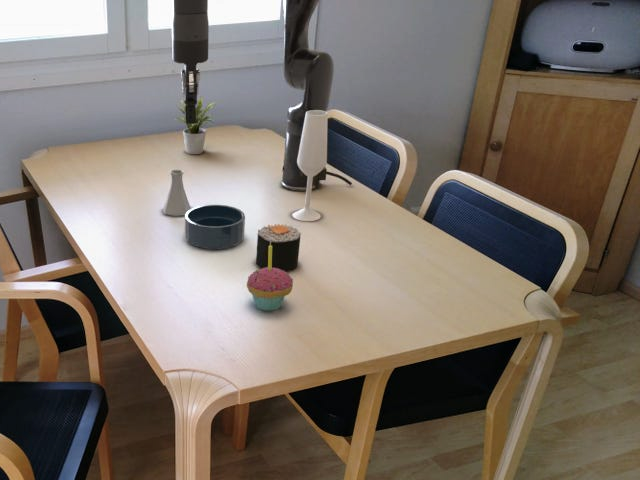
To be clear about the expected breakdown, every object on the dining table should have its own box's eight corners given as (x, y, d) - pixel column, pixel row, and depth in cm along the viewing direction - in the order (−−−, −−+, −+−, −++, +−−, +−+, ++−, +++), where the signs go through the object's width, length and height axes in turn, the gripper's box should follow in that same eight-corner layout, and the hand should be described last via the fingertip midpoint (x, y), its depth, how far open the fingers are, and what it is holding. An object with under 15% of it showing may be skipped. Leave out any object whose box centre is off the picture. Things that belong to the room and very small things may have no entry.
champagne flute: (323, 212, 164) (335, 110, 151) (316, 222, 159) (328, 117, 146) (296, 209, 167) (305, 108, 153) (288, 218, 162) (297, 115, 148)
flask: (189, 217, 164) (189, 177, 158) (160, 216, 165) (158, 175, 160) (194, 206, 170) (194, 167, 164) (165, 205, 171) (164, 166, 165)
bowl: (240, 226, 159) (241, 203, 156) (246, 250, 148) (248, 226, 145) (184, 227, 159) (184, 205, 156) (186, 251, 148) (186, 228, 145)
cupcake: (242, 295, 131) (244, 237, 124) (285, 292, 131) (290, 235, 125) (250, 317, 124) (254, 257, 117) (296, 314, 124) (302, 254, 117)
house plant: (220, 159, 200) (222, 102, 191) (173, 160, 201) (173, 103, 191) (217, 145, 212) (219, 90, 203) (173, 146, 212) (172, 91, 203)
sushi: (249, 260, 143) (251, 225, 139) (283, 253, 146) (286, 218, 141) (269, 276, 137) (271, 240, 133) (304, 268, 140) (308, 232, 135)
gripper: (210, 41, 134) (209, 130, 144) (206, 30, 145) (205, 114, 155) (172, 42, 134) (174, 131, 144) (171, 31, 146) (172, 115, 155)
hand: (190, 122), depth 150 cm, fingers closed
